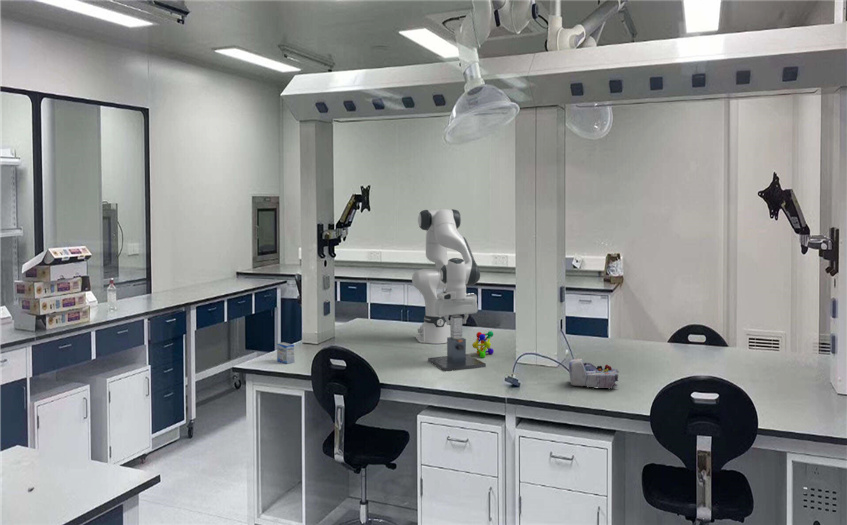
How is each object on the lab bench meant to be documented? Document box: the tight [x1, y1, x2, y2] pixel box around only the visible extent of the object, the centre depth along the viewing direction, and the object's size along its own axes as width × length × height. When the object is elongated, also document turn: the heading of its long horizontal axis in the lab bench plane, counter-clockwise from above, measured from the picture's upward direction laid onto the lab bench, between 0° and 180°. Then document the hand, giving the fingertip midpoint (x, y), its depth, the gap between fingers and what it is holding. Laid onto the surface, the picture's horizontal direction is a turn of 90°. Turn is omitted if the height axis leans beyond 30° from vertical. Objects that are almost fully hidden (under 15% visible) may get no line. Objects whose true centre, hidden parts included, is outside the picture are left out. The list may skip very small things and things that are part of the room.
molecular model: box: [472, 330, 495, 359], centre depth 320 cm, size 12×7×12 cm, turn 145°
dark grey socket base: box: [427, 336, 487, 372], centre depth 304 cm, size 20×20×12 cm
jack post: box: [450, 314, 463, 340], centre depth 303 cm, size 4×4×17 cm
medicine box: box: [276, 341, 295, 365], centre depth 309 cm, size 8×4×9 cm, turn 47°
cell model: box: [568, 358, 620, 389], centre depth 269 cm, size 13×11×20 cm
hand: (456, 324), depth 303 cm, fingers open, 6 cm apart
